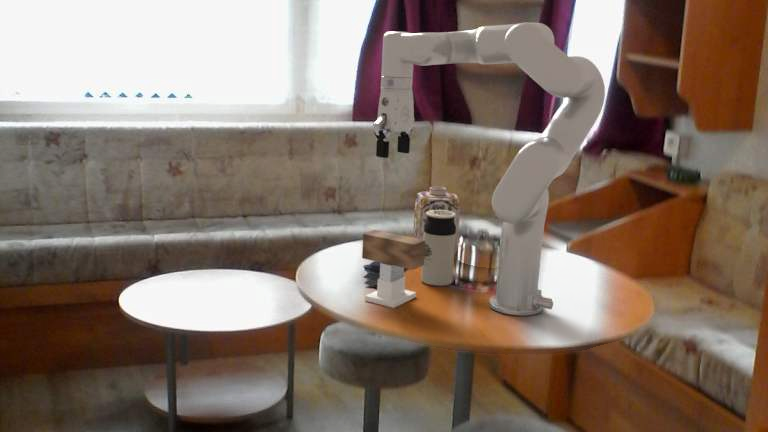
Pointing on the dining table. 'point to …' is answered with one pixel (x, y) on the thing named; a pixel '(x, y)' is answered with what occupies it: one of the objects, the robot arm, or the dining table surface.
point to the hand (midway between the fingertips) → (392, 154)
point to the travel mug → (439, 248)
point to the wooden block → (393, 249)
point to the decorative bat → (372, 273)
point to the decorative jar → (434, 201)
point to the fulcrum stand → (390, 287)
